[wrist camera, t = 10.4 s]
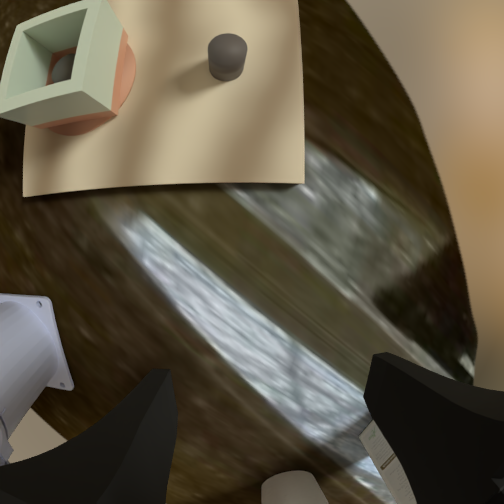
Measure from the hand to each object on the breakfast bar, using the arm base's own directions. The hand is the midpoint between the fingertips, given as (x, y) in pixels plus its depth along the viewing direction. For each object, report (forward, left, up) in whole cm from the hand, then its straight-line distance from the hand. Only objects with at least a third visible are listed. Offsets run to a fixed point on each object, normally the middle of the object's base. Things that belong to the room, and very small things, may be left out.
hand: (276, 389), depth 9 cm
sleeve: (-10, +14, -8) cm, 19 cm away
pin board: (-6, +14, -9) cm, 18 cm away
